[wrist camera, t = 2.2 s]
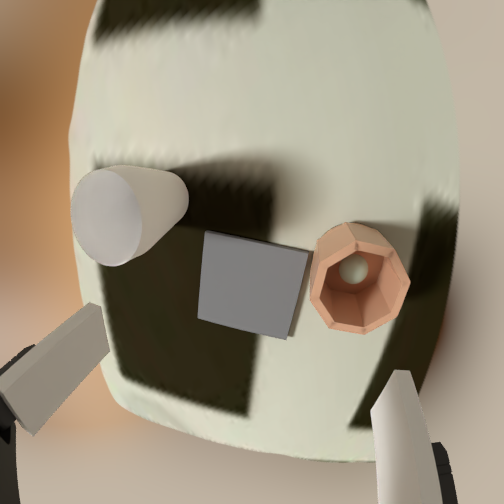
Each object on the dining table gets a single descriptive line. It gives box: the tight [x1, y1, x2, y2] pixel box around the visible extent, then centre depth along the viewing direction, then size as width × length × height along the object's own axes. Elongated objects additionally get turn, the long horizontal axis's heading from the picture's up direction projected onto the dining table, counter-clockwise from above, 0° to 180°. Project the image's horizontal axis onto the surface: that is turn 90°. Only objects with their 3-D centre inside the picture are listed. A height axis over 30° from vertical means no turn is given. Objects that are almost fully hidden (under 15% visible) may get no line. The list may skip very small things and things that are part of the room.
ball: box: [339, 254, 368, 284], centre depth 28 cm, size 3×3×3 cm
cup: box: [71, 165, 189, 266], centre depth 27 cm, size 9×9×12 cm
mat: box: [198, 230, 308, 340], centre depth 34 cm, size 12×12×1 cm
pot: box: [310, 222, 411, 335], centre depth 27 cm, size 9×9×8 cm
